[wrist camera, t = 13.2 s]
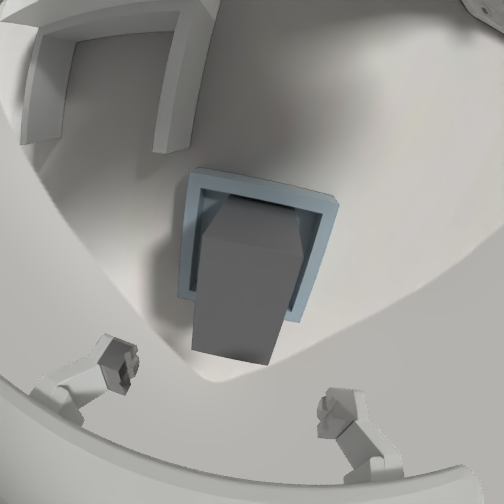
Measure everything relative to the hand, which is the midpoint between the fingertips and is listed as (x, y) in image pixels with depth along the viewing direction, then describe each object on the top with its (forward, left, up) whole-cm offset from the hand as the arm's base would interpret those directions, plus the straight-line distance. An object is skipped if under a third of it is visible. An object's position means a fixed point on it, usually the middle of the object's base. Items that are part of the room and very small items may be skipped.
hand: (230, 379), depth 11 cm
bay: (+14, -15, -15) cm, 26 cm away
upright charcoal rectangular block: (0, 0, -14) cm, 14 cm away
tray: (0, +1, -15) cm, 15 cm away
